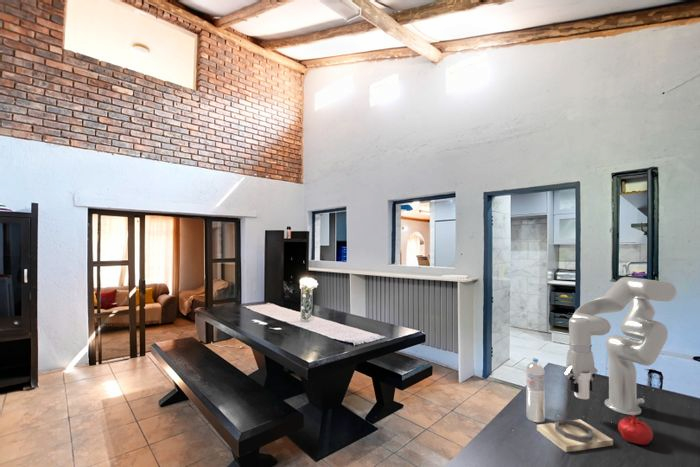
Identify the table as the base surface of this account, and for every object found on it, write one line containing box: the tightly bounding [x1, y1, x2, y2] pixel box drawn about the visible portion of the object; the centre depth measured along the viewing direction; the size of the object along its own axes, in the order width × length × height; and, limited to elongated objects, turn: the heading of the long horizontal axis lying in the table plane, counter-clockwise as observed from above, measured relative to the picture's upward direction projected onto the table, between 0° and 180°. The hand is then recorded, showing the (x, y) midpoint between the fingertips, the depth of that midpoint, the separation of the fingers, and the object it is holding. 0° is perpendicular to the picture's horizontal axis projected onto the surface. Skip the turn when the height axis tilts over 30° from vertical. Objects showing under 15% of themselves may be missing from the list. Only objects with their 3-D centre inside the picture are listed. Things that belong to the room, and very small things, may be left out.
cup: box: [573, 372, 591, 400], centre depth 143 cm, size 7×7×11 cm
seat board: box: [536, 418, 614, 453], centre depth 129 cm, size 20×14×4 cm
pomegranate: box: [617, 415, 654, 446], centre depth 128 cm, size 10×10×9 cm
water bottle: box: [525, 358, 546, 424], centre depth 142 cm, size 7×7×25 cm
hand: (581, 390), depth 143 cm, fingers closed on cup, 5 cm apart
